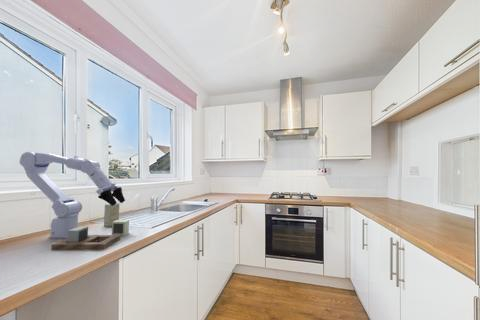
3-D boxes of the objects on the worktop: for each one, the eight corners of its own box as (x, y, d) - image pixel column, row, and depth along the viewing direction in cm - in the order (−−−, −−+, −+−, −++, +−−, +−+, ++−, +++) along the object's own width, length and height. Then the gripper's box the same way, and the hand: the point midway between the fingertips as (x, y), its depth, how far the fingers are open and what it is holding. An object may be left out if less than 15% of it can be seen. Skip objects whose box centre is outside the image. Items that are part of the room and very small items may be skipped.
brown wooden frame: (51, 249, 80) (51, 244, 80) (75, 239, 92) (75, 234, 92) (103, 249, 80) (104, 244, 80) (120, 239, 92) (120, 234, 92)
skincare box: (110, 227, 112) (111, 204, 113) (103, 226, 113) (104, 204, 114) (119, 224, 118) (119, 202, 119) (112, 223, 119) (113, 202, 120)
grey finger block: (67, 246, 83) (68, 230, 83) (78, 241, 89) (79, 226, 89) (77, 246, 83) (78, 230, 83) (88, 241, 89) (88, 226, 89)
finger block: (124, 236, 97) (124, 222, 98) (111, 236, 97) (111, 222, 97) (128, 233, 101) (128, 220, 102) (116, 233, 101) (116, 220, 101)
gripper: (98, 176, 93) (117, 200, 93) (116, 175, 107) (132, 195, 107) (85, 186, 92) (104, 210, 92) (105, 184, 107) (122, 204, 107)
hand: (119, 203), depth 100 cm, fingers open, 7 cm apart
